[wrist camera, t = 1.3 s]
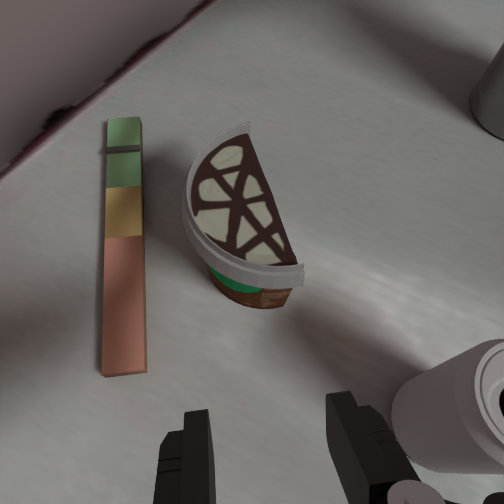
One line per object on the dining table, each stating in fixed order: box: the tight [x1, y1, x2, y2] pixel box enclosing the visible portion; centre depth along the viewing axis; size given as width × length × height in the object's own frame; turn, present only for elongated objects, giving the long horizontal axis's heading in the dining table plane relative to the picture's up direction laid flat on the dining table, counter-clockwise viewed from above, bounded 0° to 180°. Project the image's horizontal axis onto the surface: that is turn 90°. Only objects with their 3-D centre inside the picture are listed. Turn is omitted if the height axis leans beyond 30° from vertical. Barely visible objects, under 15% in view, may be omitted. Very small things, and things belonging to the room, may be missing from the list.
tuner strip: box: [101, 117, 147, 378], centre depth 36 cm, size 3×24×2 cm, turn 7°
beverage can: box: [391, 339, 504, 474], centre depth 25 cm, size 6×6×12 cm
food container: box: [181, 122, 304, 309], centre depth 31 cm, size 12×6×10 cm, turn 17°
